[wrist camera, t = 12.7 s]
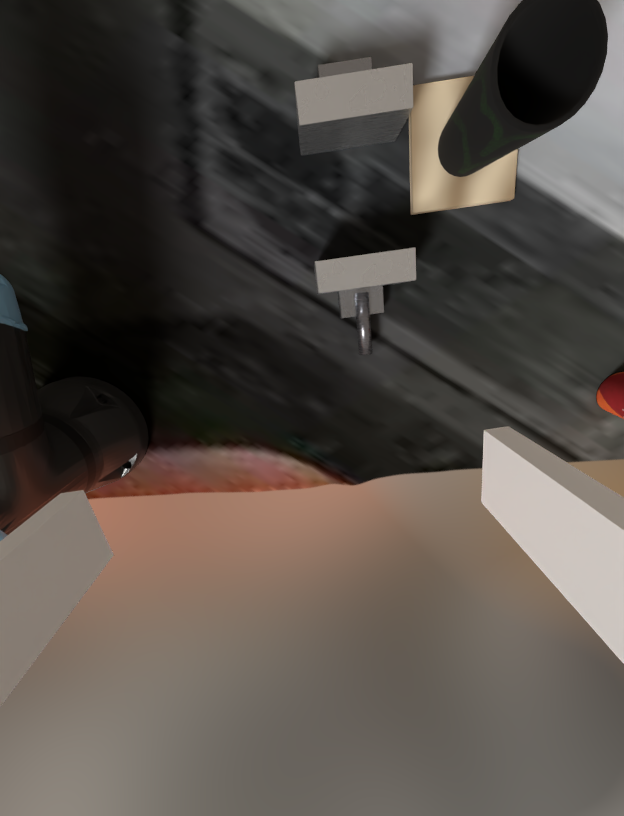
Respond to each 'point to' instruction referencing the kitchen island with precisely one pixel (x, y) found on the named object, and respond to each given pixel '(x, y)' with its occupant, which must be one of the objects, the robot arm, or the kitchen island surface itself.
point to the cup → (526, 82)
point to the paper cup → (612, 394)
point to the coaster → (426, 172)
